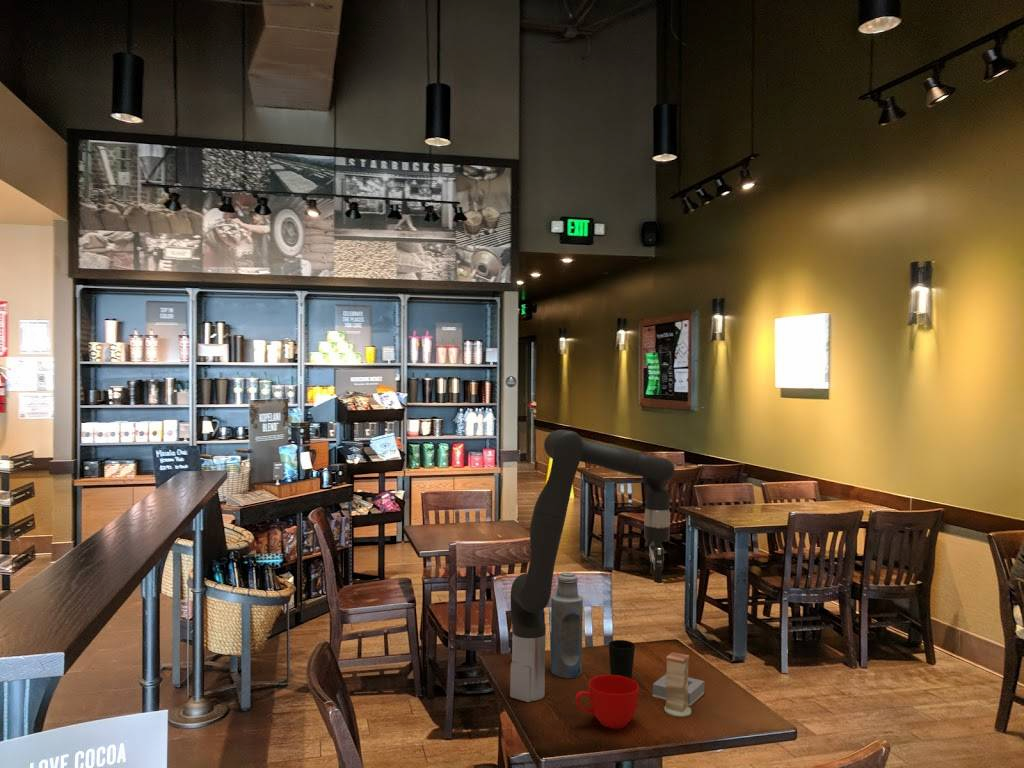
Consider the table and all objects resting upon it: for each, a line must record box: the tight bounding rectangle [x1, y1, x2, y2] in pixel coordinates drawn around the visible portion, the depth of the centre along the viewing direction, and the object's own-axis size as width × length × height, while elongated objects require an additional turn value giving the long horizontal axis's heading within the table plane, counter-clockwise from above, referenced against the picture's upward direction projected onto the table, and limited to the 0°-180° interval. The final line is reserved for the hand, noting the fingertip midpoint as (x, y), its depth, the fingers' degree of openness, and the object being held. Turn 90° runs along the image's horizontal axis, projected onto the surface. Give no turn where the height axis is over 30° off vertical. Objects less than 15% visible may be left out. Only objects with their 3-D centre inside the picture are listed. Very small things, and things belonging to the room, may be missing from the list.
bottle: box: [549, 571, 584, 679], centre depth 226 cm, size 10×10×30 cm
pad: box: [664, 705, 692, 718], centre depth 199 cm, size 7×7×1 cm
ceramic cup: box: [575, 674, 640, 730], centre depth 191 cm, size 13×17×10 cm
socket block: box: [652, 673, 705, 707], centre depth 210 cm, size 11×11×3 cm
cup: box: [608, 639, 636, 680], centre depth 216 cm, size 8×8×12 cm
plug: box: [665, 651, 690, 712], centre depth 200 cm, size 5×5×14 cm
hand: (656, 578), depth 221 cm, fingers open, 8 cm apart
